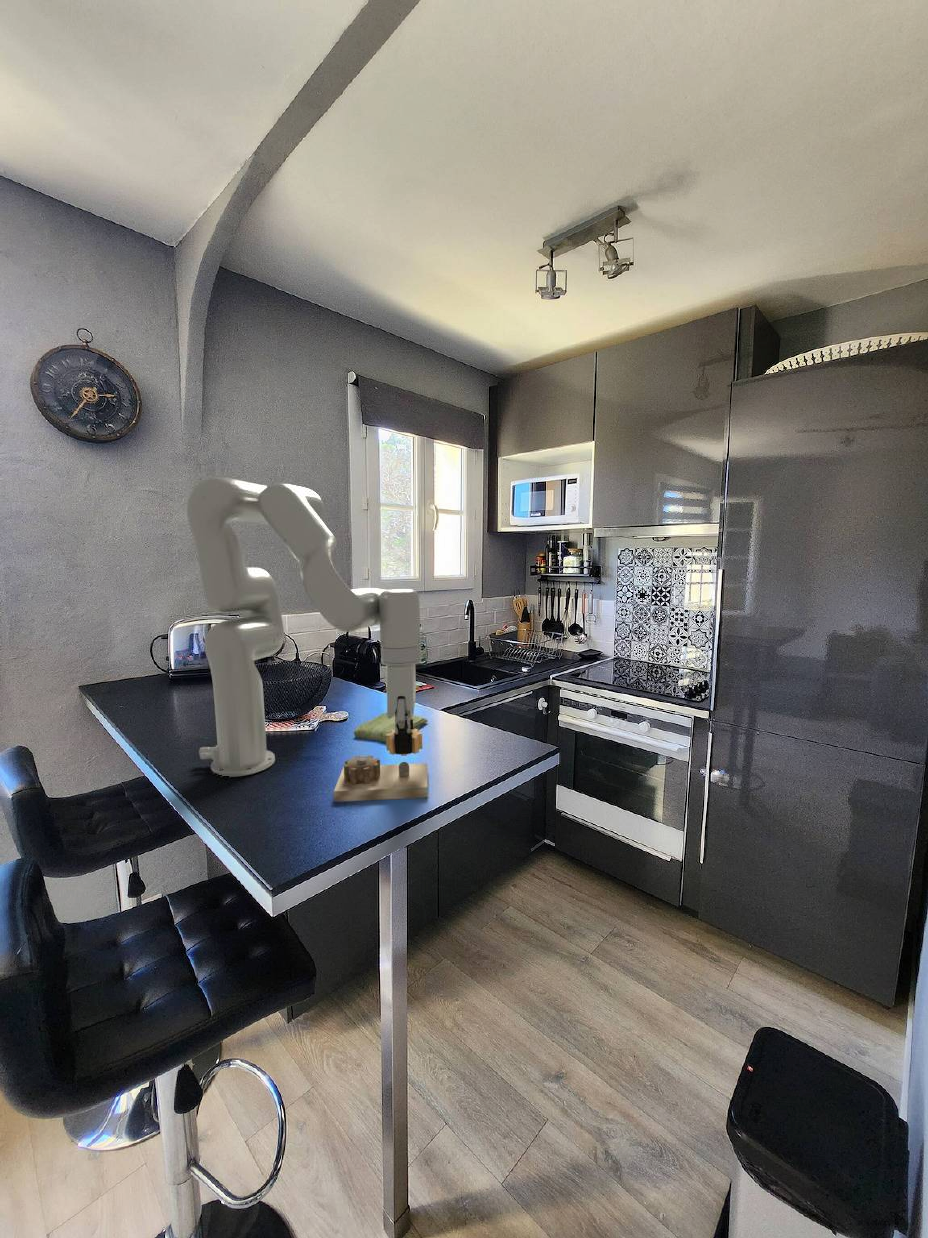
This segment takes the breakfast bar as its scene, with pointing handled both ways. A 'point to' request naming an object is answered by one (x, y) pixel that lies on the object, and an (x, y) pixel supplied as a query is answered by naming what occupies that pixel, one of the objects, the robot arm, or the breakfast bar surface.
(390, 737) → the loose gear
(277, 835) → the breakfast bar surface
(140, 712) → the breakfast bar surface
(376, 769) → the gear board
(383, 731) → the washcloth
